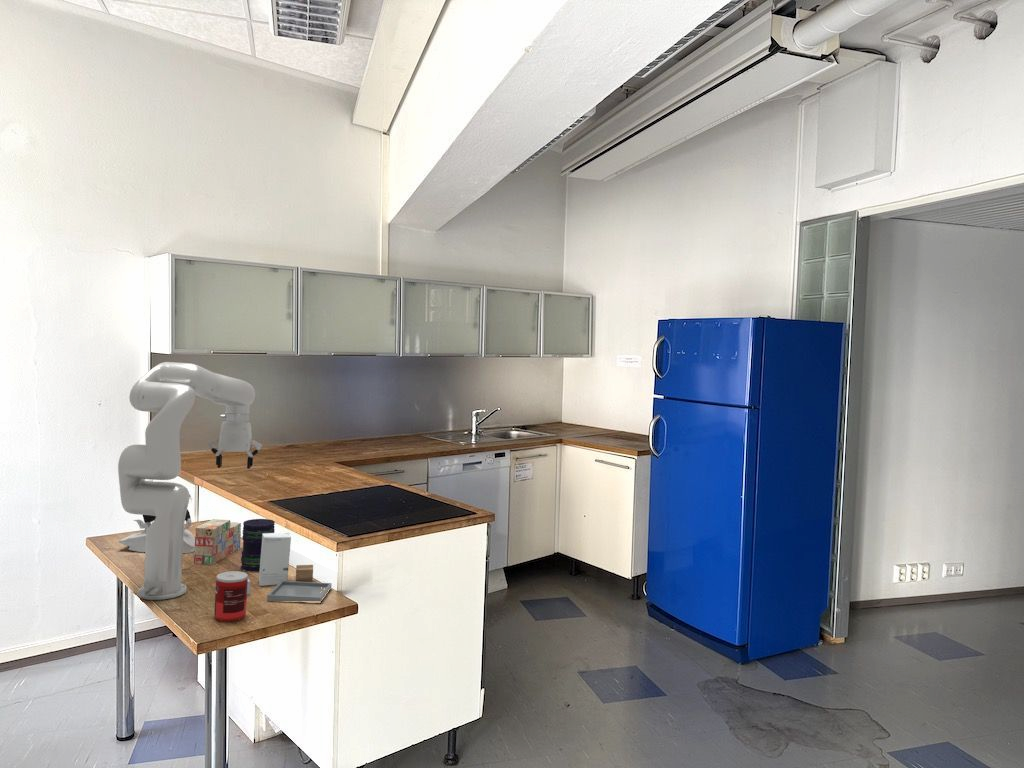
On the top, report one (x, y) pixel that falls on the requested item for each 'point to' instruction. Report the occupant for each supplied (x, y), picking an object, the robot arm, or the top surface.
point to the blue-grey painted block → (248, 587)
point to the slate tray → (298, 591)
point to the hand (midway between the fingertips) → (234, 467)
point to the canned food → (230, 596)
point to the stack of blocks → (216, 540)
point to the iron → (139, 540)
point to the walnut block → (304, 573)
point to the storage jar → (254, 542)
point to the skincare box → (274, 558)
